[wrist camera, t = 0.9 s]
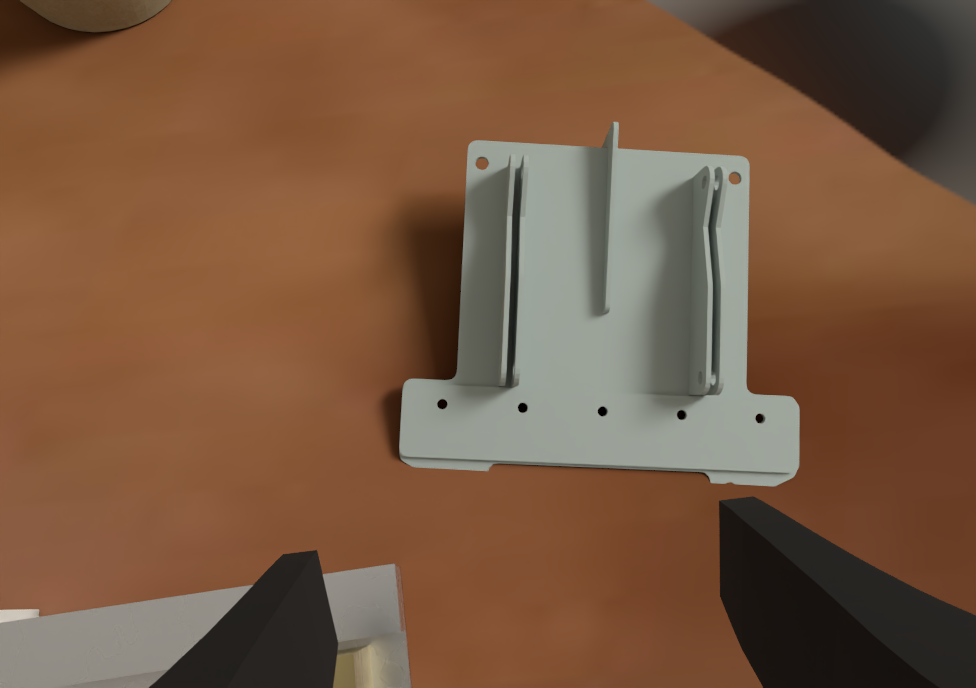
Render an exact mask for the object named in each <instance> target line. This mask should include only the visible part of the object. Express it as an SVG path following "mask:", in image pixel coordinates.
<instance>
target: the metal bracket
mask: <svg viewBox="0 0 976 688" xmlns="http://www.w3.org/2000/svg"><path fill="white" fill-rule="evenodd" d="M618 129H619V124H618V122H612V124H611V127H610V129H609V132H608V134H607V137H606V139H605V141H604V144H603V146H602V148H597V147H581V146H564V145H548V144H531V143H514V142H498V141H481V140H477V141H473V142H472V143H470V144H469V147H468V158H467V178H466V198H465V218H464V239H463V259H462V279H461V300H460V320H459V340H458V360H457V373H456V376H455V377H454V378H452V379H450V380H432V379H409V380H407V381H406V382H405V383H404V386H403V391H402V407H401V425H400V443H399V449H400V450H399V454H400V458H401V460H402V461H404V462H405V463H407V464H408V465H410V466H412V467H421V468H440V469H459V470H478V471H488V470H489V467H491V466H492V465H493V464H497V463H501V464H525V465H549V466H572V467H596V468H620V469H644V470H667V471H691V472H703V473H705V474H706V475H707V476H708V477H709V479H710V483H722V484H726V483H728V482H732V483H734V484H741V485H760V486H776V485H778V484H781V483H783V482H785V481H787V480H789V479H791V478H793V477H794V476H795V474H796V471H797V470H798V467H799V405H798V404H797V403H796V401H795V400H794V399H793V398H792V397H789V396H775V395H755V394H752V393H750V392H749V391H748V389H747V385H746V375H747V305H748V235H749V162H748V160H747V159H746V158H745V157H742V156H731V155H714V154H697V153H681V152H664V151H647V150H631V149H618ZM480 158H483V159H486V160H487V161H488V164H489V165H488V167H487V168H486V169H485V170H480V169H478V168H477V167H476V165H475V163H476V161H477V160H478V159H480ZM731 173H735V174H737V175H738V176H739V179H740V181H739V184H737V185H734V184H731V183H730V182H729V179H728V177H729V174H731ZM440 399H445V400H446V401H447V404H448V405H447V407H446V408H445V409H440V408H439V407H438V405H437V403H438V401H439V400H440ZM520 403H525V404H526V405H527V407H528V408H527V411H526V412H524V413H521V412H519V410H518V405H519V404H520ZM602 406H603V407H605V408H606V410H607V413H606V415H605V416H600V415H599V414H598V409H599V408H600V407H602ZM679 410H683V411H684V412H685V418H684V419H683V420H680V419H678V417H677V412H678V411H679ZM757 414H761V415H762V416H763V421H762V422H761V423H757V422H756V419H755V418H756V415H757Z"/></svg>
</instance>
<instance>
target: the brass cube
mask: <svg viewBox="0 0 976 688" xmlns="http://www.w3.org/2000/svg"><path fill="white" fill-rule="evenodd" d="M333 688H373V685H372V672H371V659H370V647H369V645H367V646H361V647H355V648H349V649H342V650H338V651H337V659H336V668H335V676H334V683H333Z"/></svg>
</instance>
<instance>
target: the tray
mask: <svg viewBox="0 0 976 688" xmlns="http://www.w3.org/2000/svg"><path fill="white" fill-rule="evenodd" d="M36 617H39V609H28V610H0V623H2V622H9V621H16V620H22V619H29V618H36Z"/></svg>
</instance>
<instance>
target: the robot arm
mask: <svg viewBox="0 0 976 688" xmlns="http://www.w3.org/2000/svg"><path fill="white" fill-rule="evenodd" d="M719 518H720V597H721V600H722V602H723V605H724V607H725V610H726V612H727V614H728V617H729V619H730V622H731V624H732V627H733V629H734V632H735V634H736V636H737V639H738V641H739V643H740V646H741V648H742V650H743V652H744V654H745V655H746V657H747V659H748V661H749V663H750V664H751V666H752V668H753V670H754V672H755V673H756V675H757V677H758V679H759V680H760V682H761V684H762V686H763V687H764V688H976V616H975V615H973V614H971V613H969V612H966V611H964V610H962V609H959V608H957V607H955V606H953V605H950V604H948V603H946V602H944V601H941V600H939V599H937V598H935V597H933V596H931V595H928V594H926V593H924V592H922V591H920V590H918V589H916V588H914V587H912V586H910V585H908V584H906V583H904V582H902V581H900V580H898V579H897V578H895V577H893V576H891V575H889V574H887V573H885V572H883V571H881V570H879V569H877V568H875V567H874V566H872V565H870V564H868V563H866V562H864V561H863V560H861V559H859V558H857V557H855V556H854V555H852V554H850V553H848V552H847V551H845V550H843V549H842V548H840V547H838V546H836V545H835V544H833V543H831V542H830V541H828V540H826V539H824V538H823V537H821V536H819V535H818V534H816V533H814V532H813V531H811V530H809V529H808V528H806V527H805V526H803V525H801V524H800V523H798V522H796V521H795V520H793V519H791V518H790V517H788V516H786V515H785V514H783V513H781V512H780V511H778V510H777V509H775V508H773V507H771V506H770V505H768V504H766V503H765V502H763V501H761V500H759V499H757V498H755V497H746V498H737V499H729V500H721V501H719ZM337 651H338V640H337V635H336V631H335V627H334V622H333V618H332V614H331V609H330V605H329V600H328V596H327V592H326V587H325V583H324V579H323V574H322V570H321V566H320V561H319V557H318V553H317V550H315V551H307V552H299V553H291V554H283V555H282V556H281V557H280V558H279V559H278V560H277V561H276V562H275V563H274V564H273V565H272V566H271V567H270V568H269V569H268V570H267V571H266V572H265V573H264V574H263V575H262V576H261V577H260V579H259V580H258V581H257V582H256V583H255V584H254V585H253V586H252V587H251V588H250V589H249V590H248V591H247V592H246V593H245V594H244V596H243V597H242V598H241V599H240V600H239V601H238V602H237V603H236V604H235V605H234V606H233V607H232V608H231V609H230V610H229V611H228V612H227V613H226V614H225V615H224V616H223V617H222V618H221V619H220V620H219V621H218V623H217V624H216V625H215V626H214V627H213V628H212V629H211V630H210V631H209V632H208V633H207V634H206V635H205V636H204V637H203V638H201V639H200V640H199V641H198V642H197V643H196V644H195V645H194V646H193V647H192V648H191V649H190V650H189V651H188V652H187V653H186V654H185V655H184V656H182V657H181V658H180V659H179V660H178V661H177V662H176V663H175V664H174V665H173V666H172V667H171V668H170V669H169V670H168V671H167V672H166V673H165V674H164V675H162V676H161V677H160V678H159V679H158V680H157V681H156V682H155V683H153V684H152V685H151V686H150V687H149V688H333V683H334V676H335V668H336V659H337Z"/></svg>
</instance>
